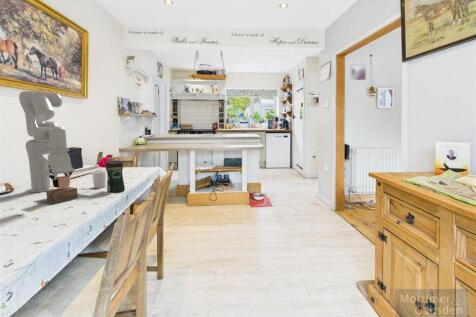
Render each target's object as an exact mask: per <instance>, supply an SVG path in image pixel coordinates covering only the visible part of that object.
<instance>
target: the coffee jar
mask: <svg viewBox="0 0 476 317" xmlns="http://www.w3.org/2000/svg"><path fill="white" fill-rule="evenodd" d="M123 170H124V164H123V161H122V160H110V161H106V162H105V171H106V179H107V180H106V191H107V193H111V194H112V193H120V192H123V191H125V182H124V177H123V175H124V174H123Z"/></svg>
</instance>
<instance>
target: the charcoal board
mask: <svg viewBox="0 0 476 317" xmlns="http://www.w3.org/2000/svg"><path fill="white" fill-rule="evenodd" d="M87 197H89V195H88V194H87V195H86V194H81V193H78V198H73V199H69V200H65V201H61V202H56V201H51V200H47V198H44V199H43V198H42V199H39V200H34V201H33V203H38V204H42V205H49V206H54V205H55V206H56V205H59V204H63V203H67V202H72V201H74V200H80V199H83V198H87Z"/></svg>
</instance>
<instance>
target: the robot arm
mask: <svg viewBox="0 0 476 317" xmlns="http://www.w3.org/2000/svg"><path fill="white" fill-rule="evenodd" d="M18 97H19V98H18V100H19V103H20V106H21V108H22V110H23V112H24V116H25V117H24V118H25V125H26V132H27V135H28V136H29V137H31V138H32V139H29V140H28V141H26V142H25V150H26V154H27V158H28V164H29V166H28V167H29V175H30V188H29V189H28V192H29V193H42V192H46V190H50V189H55V188H56V187H58V180H57V177H58V175H59V174H64V175H63V176H67V177H69V184H70V183H71V181H70V178H71V176H72V175H73V173H75V172H76V169H75V168H74V167H73V166H72V160H71V157H70V154H69V153H68V152H70V148H68V142H67V133H66V131H67V130H66V129H65V127H62V126H58V124H57V123H56V122H55V121H49V120H51V119H53V118H54V117H55V115H56V114H55V110H54V108H60V107H62V105H63V99H62V96H61V95H60V94H59V93H58V92H55V91H54V92H53V91H52V92H51V91H40V90H39V91H34V90H33V91H32V90H24V91H21V92H20V93H19V94H18ZM44 155H48V156H47V158H46V157H45V156H44ZM51 180H52V186H51Z"/></svg>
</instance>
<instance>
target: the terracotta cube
mask: <svg viewBox="0 0 476 317" xmlns="http://www.w3.org/2000/svg"><path fill="white" fill-rule="evenodd" d="M57 180H58V187H55V189H56V188H62V187H70V183H69V180H70V178H69V177H67V176H65V175H61V176H57Z"/></svg>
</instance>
